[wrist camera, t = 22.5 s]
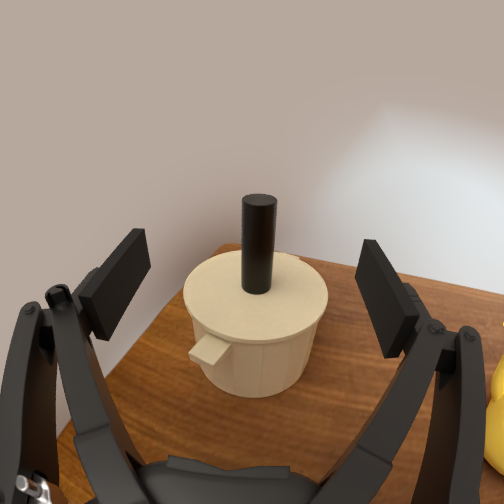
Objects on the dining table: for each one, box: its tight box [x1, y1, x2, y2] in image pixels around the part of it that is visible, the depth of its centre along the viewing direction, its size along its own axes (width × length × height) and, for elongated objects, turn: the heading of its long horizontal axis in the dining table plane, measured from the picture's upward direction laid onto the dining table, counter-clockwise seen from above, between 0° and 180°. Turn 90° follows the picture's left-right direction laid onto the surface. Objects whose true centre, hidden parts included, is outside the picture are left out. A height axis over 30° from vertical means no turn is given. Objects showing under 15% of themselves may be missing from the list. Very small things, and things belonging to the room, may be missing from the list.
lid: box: [183, 194, 328, 344], centre depth 24 cm, size 14×14×10 cm
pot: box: [189, 252, 318, 398], centre depth 29 cm, size 13×18×10 cm
